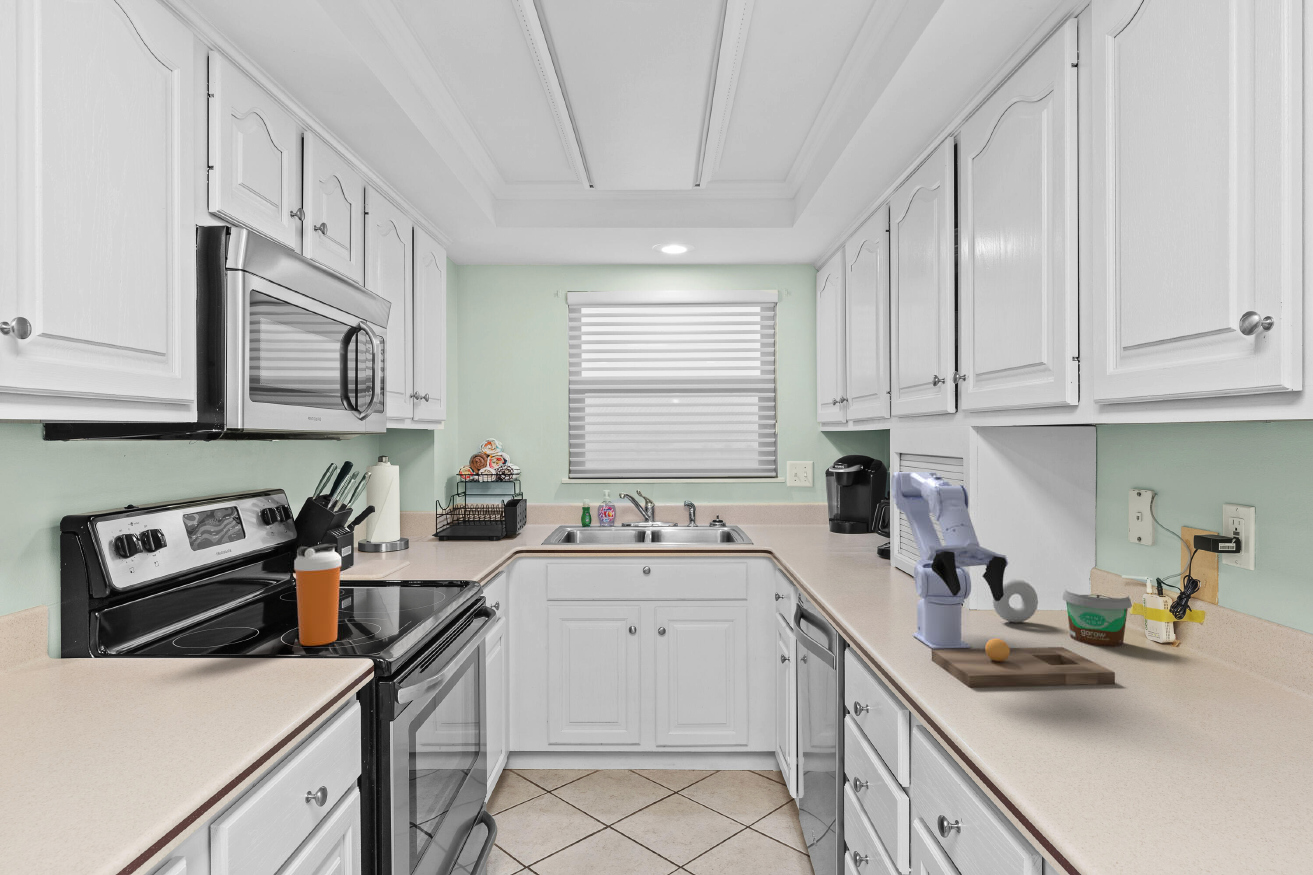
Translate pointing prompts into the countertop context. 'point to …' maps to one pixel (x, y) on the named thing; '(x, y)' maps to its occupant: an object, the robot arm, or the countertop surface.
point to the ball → (997, 649)
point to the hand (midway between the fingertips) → (978, 595)
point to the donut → (1026, 606)
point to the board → (1022, 667)
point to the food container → (1097, 618)
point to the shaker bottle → (317, 593)
